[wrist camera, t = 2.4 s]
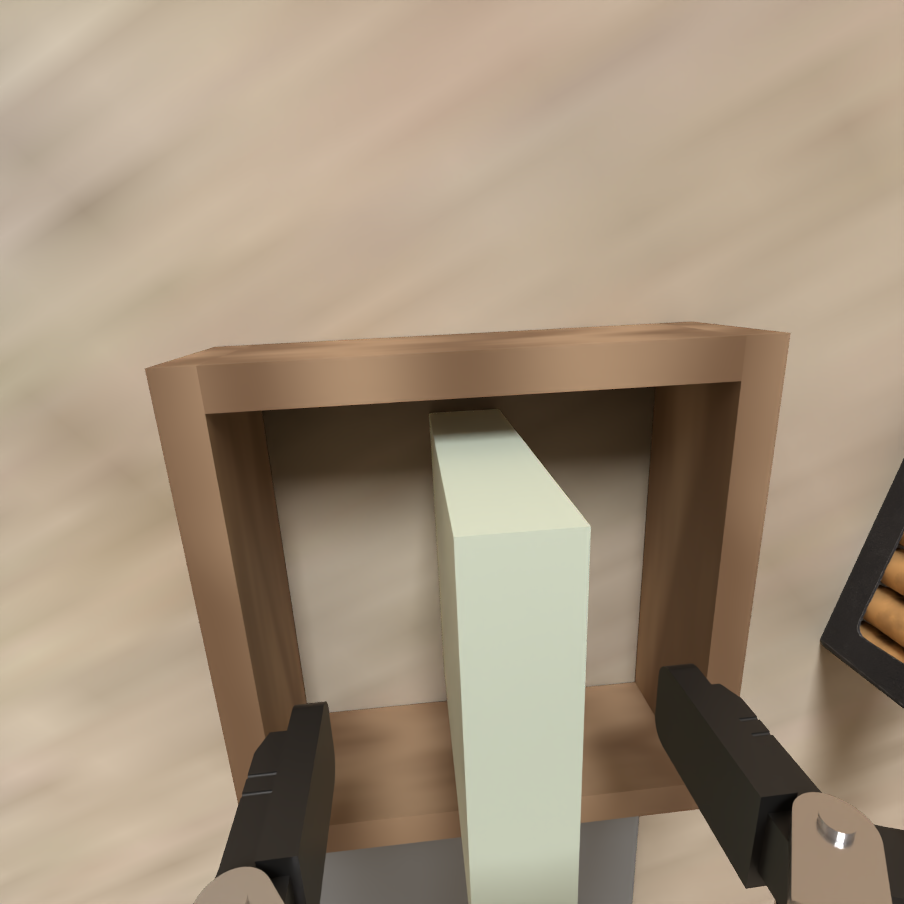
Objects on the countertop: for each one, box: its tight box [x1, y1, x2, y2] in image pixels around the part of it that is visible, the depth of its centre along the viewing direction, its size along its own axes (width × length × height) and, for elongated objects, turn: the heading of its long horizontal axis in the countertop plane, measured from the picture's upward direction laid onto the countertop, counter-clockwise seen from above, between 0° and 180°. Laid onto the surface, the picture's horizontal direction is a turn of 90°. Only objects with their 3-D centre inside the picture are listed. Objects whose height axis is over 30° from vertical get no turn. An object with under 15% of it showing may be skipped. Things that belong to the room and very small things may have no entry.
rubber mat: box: [320, 816, 639, 904], centre depth 25 cm, size 16×13×1 cm
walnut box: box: [145, 322, 790, 853], centre depth 18 cm, size 16×16×5 cm
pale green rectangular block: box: [429, 409, 591, 904], centre depth 16 cm, size 2×11×10 cm, turn 3°
